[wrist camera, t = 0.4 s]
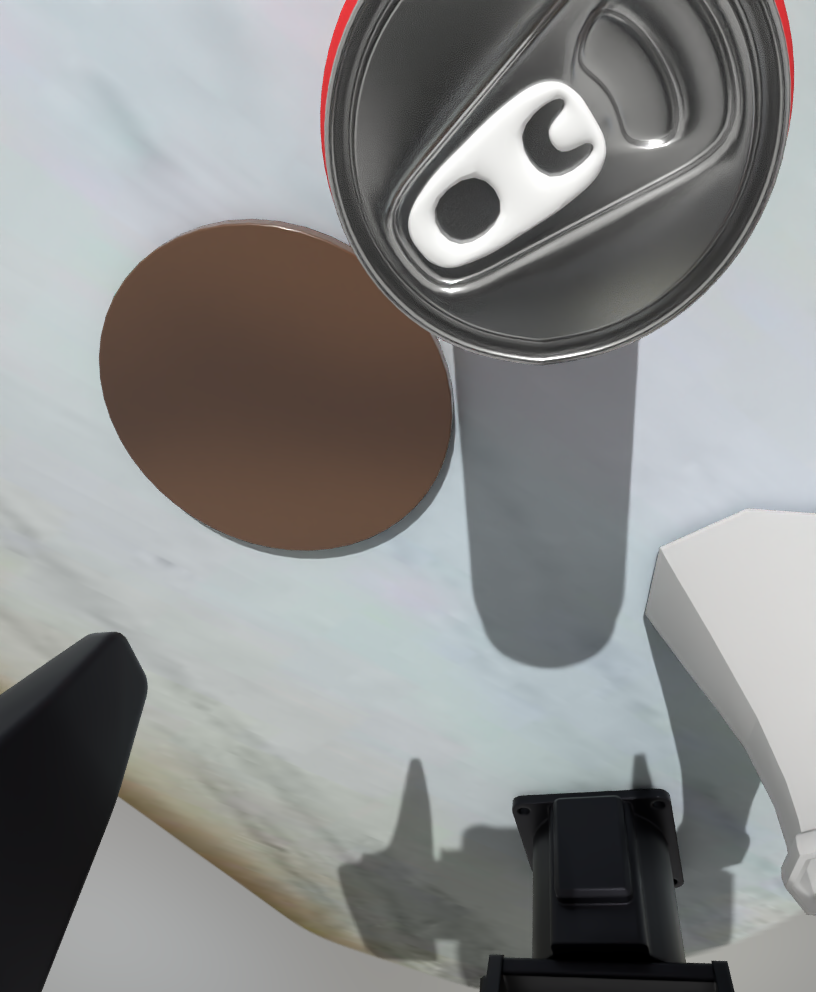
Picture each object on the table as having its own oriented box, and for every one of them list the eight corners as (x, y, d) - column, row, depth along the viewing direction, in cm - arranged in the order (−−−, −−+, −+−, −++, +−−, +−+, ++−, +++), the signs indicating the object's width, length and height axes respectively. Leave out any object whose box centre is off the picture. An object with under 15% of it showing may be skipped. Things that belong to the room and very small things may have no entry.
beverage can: (699, 78, 18) (910, 200, 8) (513, 220, 20) (490, 456, 10) (574, -146, 16) (640, -363, 6) (385, 40, 18) (201, 109, 8)
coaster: (489, 517, 25) (488, 526, 25) (194, 561, 28) (189, 570, 28) (395, 171, 20) (392, 175, 19) (40, 271, 22) (31, 276, 22)
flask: (876, 479, 22) (1072, 766, 14) (880, 654, 26) (1039, 965, 18) (625, 524, 25) (670, 797, 16) (660, 681, 28) (711, 970, 20)
